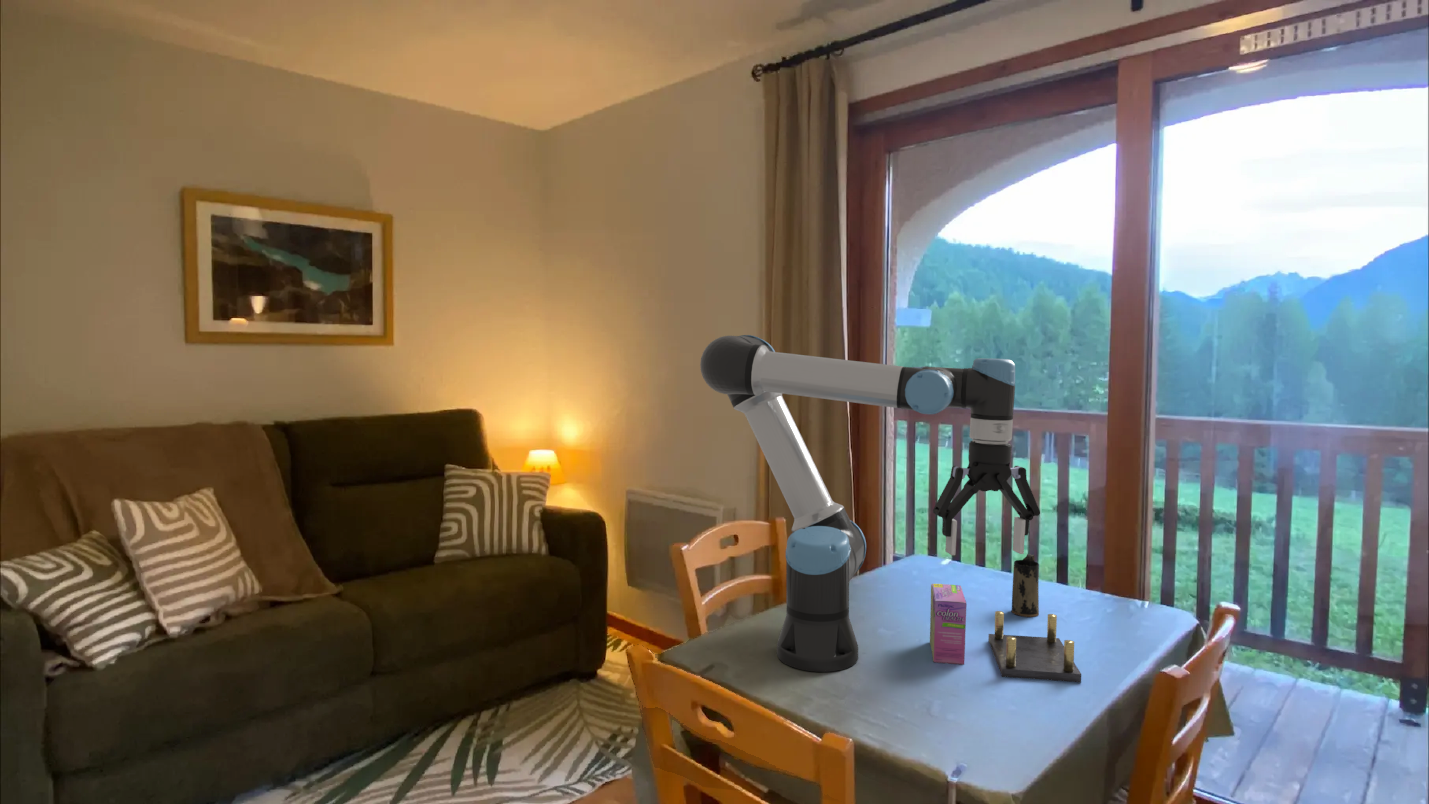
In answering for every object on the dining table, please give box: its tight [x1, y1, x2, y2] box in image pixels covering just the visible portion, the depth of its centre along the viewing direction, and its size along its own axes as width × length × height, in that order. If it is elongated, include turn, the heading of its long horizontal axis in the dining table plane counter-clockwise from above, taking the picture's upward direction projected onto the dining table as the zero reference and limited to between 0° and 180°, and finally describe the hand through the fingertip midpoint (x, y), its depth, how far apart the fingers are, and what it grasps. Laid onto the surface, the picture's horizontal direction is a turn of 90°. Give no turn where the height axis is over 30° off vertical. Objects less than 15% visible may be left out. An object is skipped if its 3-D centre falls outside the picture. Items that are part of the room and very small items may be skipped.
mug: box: [1011, 553, 1040, 618], centre depth 174 cm, size 8×6×12 cm
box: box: [929, 583, 968, 665], centre depth 151 cm, size 10×6×12 cm, turn 168°
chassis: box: [987, 610, 1082, 684], centre depth 147 cm, size 13×17×6 cm
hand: (984, 552), depth 151 cm, fingers open, 13 cm apart
